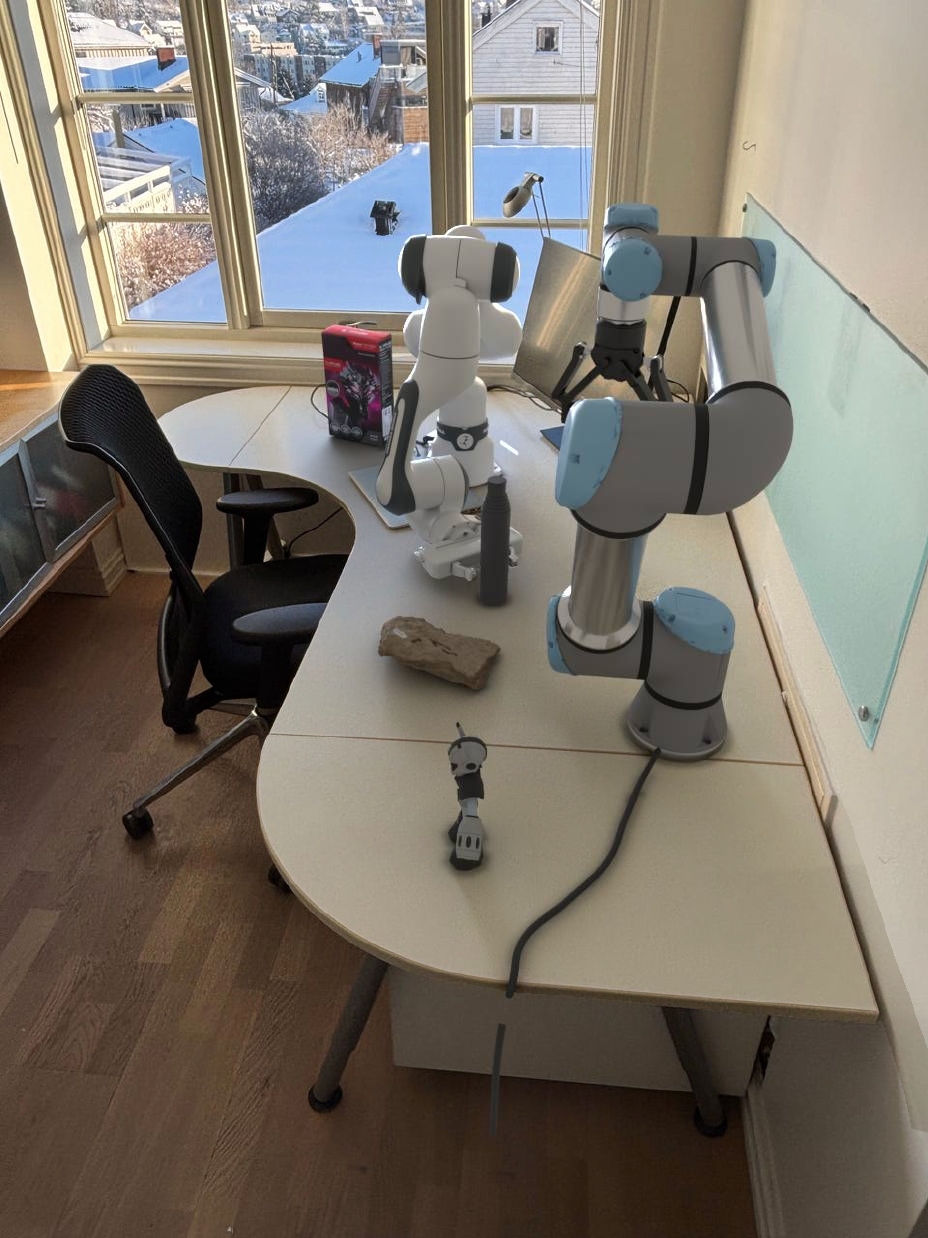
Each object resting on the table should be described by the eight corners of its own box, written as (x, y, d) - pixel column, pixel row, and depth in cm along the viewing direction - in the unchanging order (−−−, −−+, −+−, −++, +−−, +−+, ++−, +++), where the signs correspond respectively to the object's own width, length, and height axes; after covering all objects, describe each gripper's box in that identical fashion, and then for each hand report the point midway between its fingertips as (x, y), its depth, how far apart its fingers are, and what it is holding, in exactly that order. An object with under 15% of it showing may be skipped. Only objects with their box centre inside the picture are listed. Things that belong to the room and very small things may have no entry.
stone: (354, 663, 151) (360, 631, 149) (385, 632, 165) (392, 602, 162) (474, 706, 148) (483, 673, 145) (496, 671, 161) (504, 640, 159)
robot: (489, 905, 115) (493, 789, 104) (450, 907, 115) (450, 790, 104) (479, 793, 131) (482, 682, 120) (445, 794, 131) (445, 683, 120)
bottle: (509, 593, 176) (514, 474, 162) (504, 608, 172) (508, 487, 158) (482, 590, 177) (485, 471, 163) (476, 604, 173) (479, 484, 159)
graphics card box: (326, 436, 238) (318, 330, 223) (342, 427, 243) (334, 322, 228) (383, 449, 231) (378, 340, 216) (397, 439, 237) (393, 333, 221)
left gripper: (409, 537, 174) (446, 569, 164) (499, 512, 183) (540, 541, 173) (410, 566, 178) (446, 599, 168) (499, 539, 187) (538, 570, 177)
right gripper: (711, 324, 134) (690, 459, 146) (556, 300, 144) (548, 428, 156) (695, 336, 129) (674, 476, 140) (535, 311, 139) (528, 443, 151)
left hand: (494, 569), depth 171 cm, fingers open, 8 cm apart
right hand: (608, 451), depth 148 cm, fingers open, 13 cm apart
